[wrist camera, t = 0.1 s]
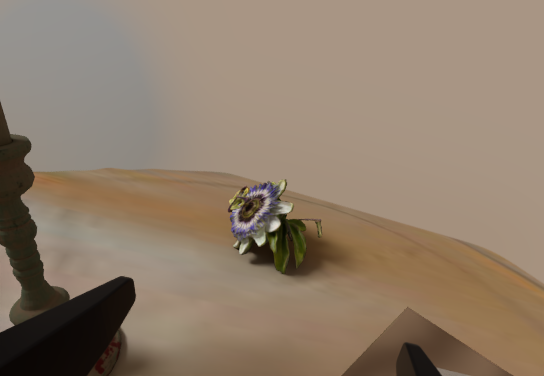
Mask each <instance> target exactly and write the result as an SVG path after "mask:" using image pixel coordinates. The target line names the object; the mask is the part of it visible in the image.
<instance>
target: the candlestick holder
mask: <svg viewBox="0 0 544 376" xmlns="http://www.w3.org/2000/svg"><path fill="white" fill-rule="evenodd" d="M30 150H31V142H30V141H29V139H28V138H27V137H25V136H20V135H13V134H10V133H9V129H8V126H7V122H6V119H5V116H4V113H3V109H2V106H1V102H0V244H1V245H2V246H4V247H6V253H7V255H8V257H9V258H10V259H9V260H10V265H11V266H12V267H13V274H14V276H15V277H16V279H17V280H18V281H19V282H20V284H21V286H22V290H21V298H20V299H19V300H18V301H17V302H16V303H15V304H14V305H13V307H12V308H11V311H10V314H9V317H10V321H11V322H12V323H13V324H14V325H17V324H20V323H22V322H24V321H26V320H28V319H30V318H32V317H34V316H37V315H39V314H41V313H43V312H45V311H47V310H49V309H52V308H54V307H56V306H58V305H60V304H62V303H64V302H66V301H69V299H70V296H69V294H68V292H67V291H66V290H65V289H63V288H60V287H56V286H50V285H49V284H48V283H47V281H46V280H44V276H43V272H44V269H43V262H42V261H41V260H40V254H39V252H38V250H37V244H36V242H35V240H34V238H35V236H36V233H37V226H36V224H35V222H34V220H32V219H31V215H30V214H29V208H28V207H26V206H25V205H24V203H23V202H22V200H21V197H20V196H21V195H22V194H24V193H25V192H26V191H27V190H28V189H29V188H30V187H32V184H33V181H34V178H35V176H34V174H33V172H32V170H31V168H30V167H29V166H28V165H26V164H25V163H24V157H25V156H26V155H27V153H29V152H30ZM120 347H121V338H120V332H119V330H118V331H117V333H116V335H115V336H114V338H113V340H112V341H111V343H110V344H109V346H108V347H107V349H106V350H105V352H104V353H103V354H102V356H101V357H100V359H99V360H98V361H97V363H96V364H95V366H94V367H93V368H92V370H91V371H90V373H89V374H88V375H87V376H108V374H109V373H110V372H111V370H112V368H113V366H114V364H115V363H116V361H117V359H118V356H119V351H120Z"/></svg>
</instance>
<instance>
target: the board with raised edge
mask: <svg viewBox="0 0 544 376" xmlns="http://www.w3.org/2000/svg"><path fill="white" fill-rule="evenodd" d="M405 342H408V343H413V344H417V345H419V346H420V347H421V348H422V349H423V351H424V352H425V353H426V355H427V356H428V357H429V359H430V360H431V361H432V363H433V364H434V365H435V367H436V368H440V369H444V370H449V371H453V372H457V373H461V374H466V375H470V376H513V375H511V374H510V373H508V372H507V371H505V370H503V369H502V368H500V367H499V366H497V365H496V364H494V363H493V362H491V361H490V360H488V359H487V358H485V357H484V356H482V355H481V354H479V353H477V352H476V351H474V350H473V349H471V348H470V347H468V346H467V345H465V344H464V343H462V342H461V341H459V340H458V339H456V338H454V337H453V336H451V335H450V334H448V333H447V332H445V331H444V330H442V329H441V328H439V327H438V326H436V325H435V324H433V323H432V322H430V321H428V320H427V319H425V318H424V317H422V316H421V315H419V314H418V313H416V312H415V311H413V310H412V309H410V308H409V307H407V308H406V309H405V310H404V311H403V312H402V313H401V314H400V315H399V316H398V317H397V318H396V319H395V320H394V321H393V323H392V324H391V325H390V326H389V327H388V328H387V329H386V330H385V331H384V332H383V333H382V334H381V335H380V336H379V337H378V338H377V339H376V340H375V341H374V342H373V343H372V344H371V345H370V347H369V348H368V349H367V350H366V351H365V352H364V353H363V354H362V355H361V356H360V357H359V358H358V359H357V360H356V361H355V362H354V363H353V364H352V365H351V366H350V367H349V368H348V369H347V371H346V372H345V373H344V374H343V375H342V376H396V361H397V358H398V355H399V353H400V350H401V347H402V345H403V343H405Z"/></svg>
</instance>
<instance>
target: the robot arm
mask: <svg viewBox="0 0 544 376" xmlns="http://www.w3.org/2000/svg"><path fill="white" fill-rule="evenodd" d="M135 298H136V294H135V287H134V281H133V279H132V278H129V277H124V276H120V277H118V278H115V279H113V280H111V281H109V282H107V283H105V284H103V285H101V286H98V287H96V288H94V289H92V290H90V291H88V292H86V293H83V294H81V295H79V296H77V297H75V298H73V299H71V300H69V301H66V302H64V303H62V304H60V305H58V306H56V307H54V308H52V309H49V310H47V311H45V312H43V313H41V314H39V315H37V316H34V317H32V318H30V319H28V320H26V321H24V322H22V323H20V324H17V325H15V326H13V327H11V328H9V329H7V330H5V331H2V332H0V376H87V375H88V374H89V373H90V371H91V370H92V368H93V367H94V366H95V364H96V363H97V361H98V360H99V359H100V357H101V356H102V354H103V353H104V352H105V350H106V349H107V347H108V346H109V344H110V343H111V341H112V340H113V338H114V336H115V335H116V333H117V331H118V329H119V328H120V326H121V324H122V323H123V321H124V319H125V317H126V316H127V314H128V312H129V311H130V309H131V307H132V306H133V304H134V302H135ZM396 376H442V375H441V373H440V372H439V371H438V369H437V368H436V367H435V365H434V364H433V363H432V361H431V360H430V359H429V357H428V356H427V355H426V353H425V352H424V351H423V349H422V348H421V347H420V346H419V345H417V344H413V343H408V342H405V343H403V345H402V347H401V350H400V353H399V355H398V358H397V361H396Z"/></svg>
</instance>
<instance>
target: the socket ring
mask: <svg viewBox="0 0 544 376" xmlns="http://www.w3.org/2000/svg"><path fill="white" fill-rule="evenodd" d="M437 369H438V371H439V372H440V373H441V375H442V376H470V375H466V374H461V373H457V372H453V371H449V370H444V369H440V368H437Z"/></svg>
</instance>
